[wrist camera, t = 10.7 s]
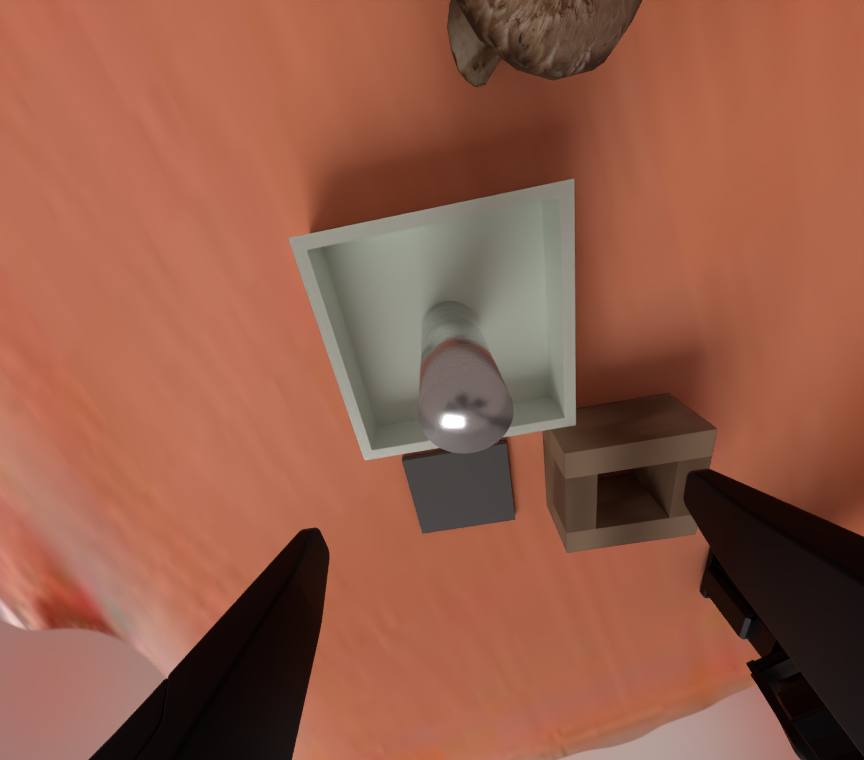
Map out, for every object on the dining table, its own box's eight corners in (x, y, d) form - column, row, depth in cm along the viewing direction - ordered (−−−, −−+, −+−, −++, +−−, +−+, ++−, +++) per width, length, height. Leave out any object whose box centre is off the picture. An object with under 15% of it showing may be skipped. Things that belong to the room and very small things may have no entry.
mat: (505, 440, 23) (506, 443, 23) (513, 515, 26) (515, 519, 26) (402, 457, 24) (402, 461, 23) (422, 529, 27) (422, 533, 26)
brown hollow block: (669, 393, 22) (717, 429, 18) (656, 488, 25) (695, 534, 22) (541, 414, 22) (564, 453, 19) (546, 505, 26) (566, 552, 22)
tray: (549, 183, 17) (574, 178, 14) (557, 398, 22) (575, 425, 19) (308, 233, 17) (288, 237, 15) (371, 430, 23) (364, 460, 20)
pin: (473, 296, 18) (510, 364, 10) (479, 348, 20) (516, 446, 12) (416, 306, 18) (409, 380, 10) (427, 357, 20) (427, 459, 12)
